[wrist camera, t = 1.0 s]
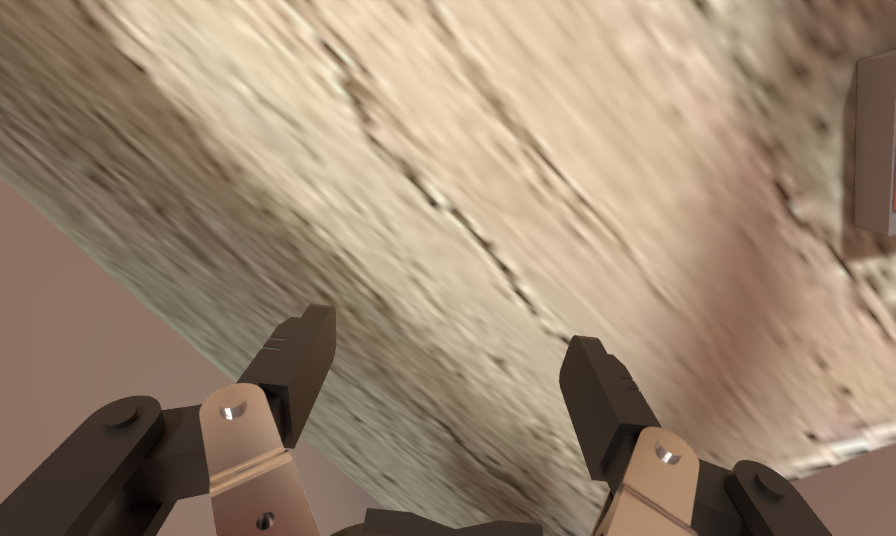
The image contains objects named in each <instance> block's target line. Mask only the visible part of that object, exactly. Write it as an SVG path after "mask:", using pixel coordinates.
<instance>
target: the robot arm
mask: <svg viewBox="0 0 896 536" xmlns="http://www.w3.org/2000/svg"><path fill="white" fill-rule="evenodd" d="M335 350H336V311H335V307H334V306H327V305H318V304H310V305H309V306H308V308H307V309H306V311H305V312H304V314H303V315H302V317H301V318H297V317H291V318H289V319H288V320H286V321H285V322H283V323H282V324H280V325H279V326H278V327H277V328H276V329H275V331H274V332H273V333H272V335H271V336H270V339H268V340H267V342H266V343H265V344H264V346H263V349H261V350H260V351H259V353H258V354H257V355H256V357H255V358H254V359H253V361H252V362H251V364H250V365H249V366H248V368H247V369H246V370H245V372H244V373H243V374H242V376H241V377H240V379H239V380H238V381H237V383H236V384H233V385H229V386H226V387H223V388H221V389H219V390H217V391H216V392H214V393H213V394H211V395H210V396H209V397H208V398H207V399H206V400H205V401H204V403H203V404H200V405H195V406H189V407H182V408H175V409H168V410H162V409H161V406H160V404H159V402H158V401H157V400H156V399H154V398H152V397H149V396H131V397H126V398H123V399H119V400H117V401H114V402H112V403H109V404H107V405H105V406H104V407H102V408H100V409H98V410H97V411H96V412H94V413H93V414H92V415H91V416H90V417H88V419H86V420H85V421H84V422H83V423H82V424H81V425H80V426H79V427H78V428H77V429H76V430H75V431H74V432H73V433H72V434H71V435H70V436H69V437H68V438H67V439H66V440H65V441H64V442H63V443H62V444H61V445H60V446H59V447H58V448H57V449H56V450H55V451H54V452H53V453H52V454H51V455H50V456H49V457H48V458H47V459H46V460H45V461H44V462H43V463H42V464H41V465H40V466H39V467H38V468H37V469H36V470H35V471H34V472H33V473H32V474H31V475H30V476H29V477H28V478H27V479H26V480H25V481H24V482H23V483H22V484H21V485H20V486H18V488H16V489H15V490H14V491H13V492H12V493H11V495H9V496H8V498H6V499H5V500H4V501H3V502H2V503H1V504H0V536H156V535H157V533H158V531H159V530H160V528H161V526H162V525H163V523H164V522H165V520H166V518H167V517H168V515H169V513H170V512H171V510H172V508H173V507H174V505H175V503H176V502H177V500H180V499H184V498H189V497H194V496H198V495H203V494H207V493H210V497H211V503H212V510H213V516H214V523H215V529H216V535H217V536H321V535H320V533H319V530H318V527H317V525H316V522H315V519H314V516H313V513H312V511H311V508H310V506H309V503H308V500H307V497H306V494H305V492H304V489H303V486H302V484H301V481H300V478H299V475H298V473H297V470H296V467H295V465H294V462H293V459H292V457H291V454H290V452H289V451H288V450H285V449H284V448H292V449H294V448H295V446H296V443H297V441H298V439H299V437H300V434H301V432H302V430H303V428H304V425H305V423H306V421H307V419H308V416H309V414H310V412H311V409H312V407H313V405H314V403H315V400H316V398H317V396H318V394H319V391H320V389H321V387H322V385H323V382H324V380H325V378H326V375H327V373H328V371H329V369H330V366H331V364H332V362H333V359H334V355H335ZM632 379H633V378H632V377H631V375H630V373H629V372H628V370H627V368H626V367H625V366H624V365H623V364H622V363H621V362H620V361H619V360H618V359H617V358H616V357H615V356H614V355H611V354H607V352H606V350H605V348H604V347H603V345H602V343H601V341H600V340H599V339H598V338H595V337H586V336H578V335H575V336H573V337H572V339H571V341H570V344H569V347H568V350H567V352H566V355H565V358H564V361H563V364H562V367H561V370H560V375H559V383H560V388H561V391H562V394H563V397H564V400H565V403H566V406H567V409H568V412H569V415H570V418H571V421H572V424H573V427H574V429H575V432H576V435H577V438H578V441H579V444H580V447H581V450H582V453H583V456H584V459H585V462H586V465H587V468H588V470H589V473H590V476H591V479H592V480H597V481H607V483H608V485H609V488H610V490H609V492H608V494H607V496H606V498H605V501H604V503H603V506H602V508H601V511H600V513H599V516H598V518H597V521H596V523H595V526H594V529H593V531H592V534H591V536H832V535H831V533H830V532H829V531H828V530H827V528H826V527H825V526H824V524H823V523H822V522H821V520H819V518H818V517H817V515H816V514H815V513H814V512H813V510H812V509H811V508H810V506H809V505H808V504H807V503H806V501H805V500H804V499H803V497H802V496H801V495H800V494H799V492H798V491H797V490H796V489H795V488H794V487H793V486H792V485H791V484H790V483H789V482H788V481H787V480H786V479H785V478H784V477H782V476H781V475H780V474H778V473H777V472H775V471H774V470H772V469H771V468H769V467H767V466H765V465H763V464H760V463H757V462H755V461H750V460H741V461H739V462H737V463H736V465H735V466H734V467H733V469H732V470H731V471H730V470H727V469H725V468H722V467H719V466H716V465H714V464H711V463H708V462H706V461H703V460H700V459H698V458H697V455H696V454H695V452H694V451H693V449H692V448H691V447H690V446H689V445H688V444H687V443H686V442H685V441H684V440H683V439H681V438H680V437H679V436H677V435H676V434H674V433H672V432H670V431H668V430H665V429H662V427H661V425H660V424H659V422H658V420H657V419H656V417H655V415H654V414H653V412H652V410H651V409H650V407H649V405H648V404H647V402H646V400H645V399H644V397H643V395H642V393H641V392H639V388H638V387H637V385H636V383H635V382H634V381H633V380H632ZM330 536H543V531H542V526H541V525H539V524H529V523H518V522H508V521H495V522H490V523H485V524H480V525H475V526H470V527H465V528H461V529H453V528H450V527H447V526H444V525H442V524H439V523H437V522H434V521H432V520H429V519H426V518H424V517H421V516H419V515H416V514H414V513H411V512H402V511H392V510H381V509H370V508H367V511H366V516H365V521H364V523H361V524H356V525H353V526H350V527H347V528H344V529H342V530H340V531H338V532H336V533H334V534H332V535H330Z"/></svg>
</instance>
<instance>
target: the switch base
mask: <svg viewBox="0 0 896 536" xmlns="http://www.w3.org/2000/svg"><path fill="white" fill-rule="evenodd" d="M854 225H856V226H859V227H862V228H865V229H868V230H871V231H873V232H876V233H879V234H882V235H885V236H888V237H889V236H894V235H896V49H893V50H890V51H887V52H884V53H881V54H878V55H874V56H871V57H868V58H865V59H862V60H859V61H857V98H856V148H855V198H854Z"/></svg>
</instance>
